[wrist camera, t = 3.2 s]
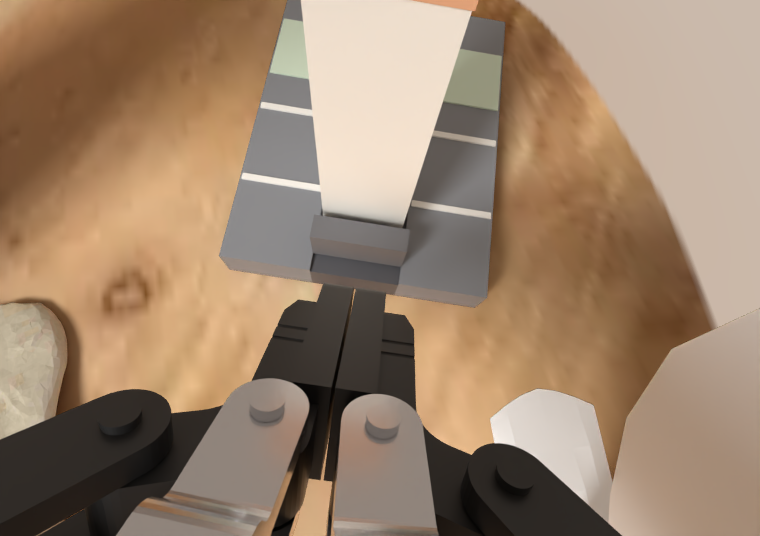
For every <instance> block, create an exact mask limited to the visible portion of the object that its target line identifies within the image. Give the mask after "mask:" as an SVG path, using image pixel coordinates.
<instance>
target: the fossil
mask: <svg viewBox="0 0 760 536" xmlns="http://www.w3.org/2000/svg"><path fill="white" fill-rule="evenodd" d="M66 366H67V338H66V335H65V331H64V328H63V326H62V324H61V322H60V321H59V319H58V318H57V316H56V315H55V314H54V313H53V312H52V311H51V310H50V309H49V308H47V307H46V306H44V305H43V304H42V303H24V304H20V303H9V304H6V305H4V304H2V305H0V439H2V438H5V437H7V436H10V435H12V434H14V433H17V432H19V431H21V430H24V429H26V428H28V427H31V426H33V425H36V424H38V423H40V422H43V421H45V420H47V419H50V418H52V417H55V416H56V409H57V403H58V397H59V393H60V389H61V384H62V380H63V375H64V372H65V369H66ZM63 521H64V520H63ZM63 521H61V522H63ZM61 522H59V523H61ZM59 523H57V524H56V525H58V524H59ZM56 525H54V526H56ZM54 526H52V527H54ZM52 527H50V528H49V529H51V528H52ZM49 529H47V530H49ZM47 530H45V531H47ZM45 531H43V532H42V533H44V532H45ZM42 533H40V534H42ZM40 534H38V535H40ZM38 535H36V536H38Z"/></svg>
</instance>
